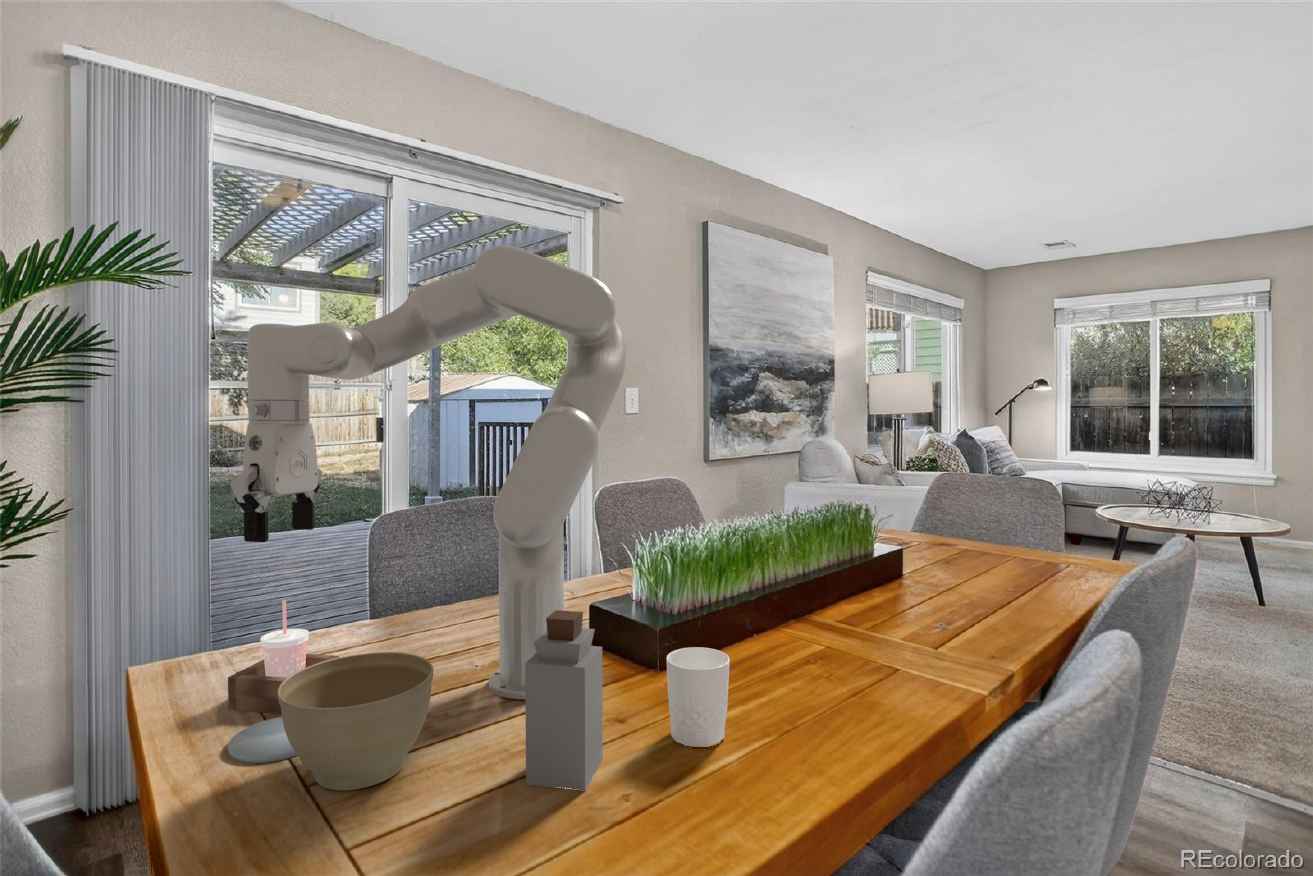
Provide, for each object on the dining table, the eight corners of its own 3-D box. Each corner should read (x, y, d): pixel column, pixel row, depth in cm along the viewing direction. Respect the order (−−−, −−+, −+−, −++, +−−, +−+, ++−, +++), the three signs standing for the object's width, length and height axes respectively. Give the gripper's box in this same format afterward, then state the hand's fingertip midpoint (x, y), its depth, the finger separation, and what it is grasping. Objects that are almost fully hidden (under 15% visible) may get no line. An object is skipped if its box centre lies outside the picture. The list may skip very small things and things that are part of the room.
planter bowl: (316, 739, 87) (314, 653, 87) (448, 735, 89) (447, 650, 88) (250, 814, 71) (248, 708, 71) (413, 807, 72) (411, 704, 72)
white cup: (711, 757, 83) (711, 674, 82) (654, 741, 87) (654, 661, 87) (739, 731, 90) (740, 654, 89) (686, 717, 94) (686, 643, 93)
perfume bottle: (585, 791, 76) (584, 626, 75) (526, 784, 77) (524, 622, 76) (602, 760, 82) (602, 608, 81) (547, 755, 83) (546, 605, 83)
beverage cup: (269, 691, 102) (266, 596, 102) (314, 687, 104) (312, 593, 103) (255, 708, 96) (253, 607, 96) (304, 704, 98) (302, 604, 97)
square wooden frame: (339, 685, 104) (339, 655, 104) (295, 714, 94) (294, 681, 94) (278, 681, 106) (277, 652, 106) (228, 710, 96) (227, 677, 96)
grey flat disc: (347, 724, 92) (347, 718, 92) (291, 766, 81) (291, 759, 81) (270, 718, 93) (270, 712, 93) (206, 759, 82) (205, 752, 82)
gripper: (259, 414, 89) (261, 548, 90) (340, 413, 106) (341, 526, 107) (207, 413, 90) (209, 546, 91) (295, 413, 107) (296, 524, 108)
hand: (281, 535), depth 99 cm, fingers open, 9 cm apart
